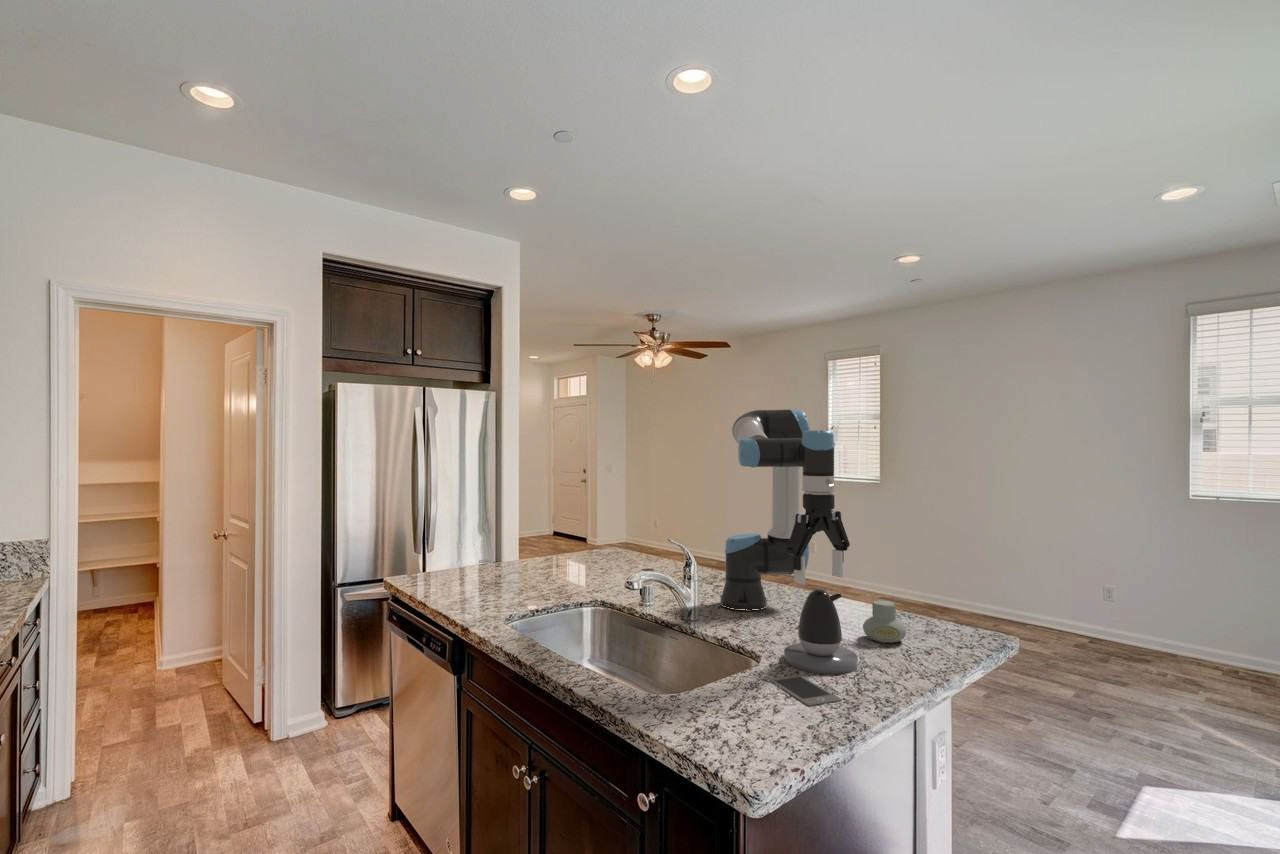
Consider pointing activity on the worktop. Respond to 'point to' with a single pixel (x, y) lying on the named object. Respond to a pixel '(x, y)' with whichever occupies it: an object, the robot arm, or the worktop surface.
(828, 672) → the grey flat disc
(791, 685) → the smartphone
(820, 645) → the pump dispenser
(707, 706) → the worktop surface
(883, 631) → the air freshener
